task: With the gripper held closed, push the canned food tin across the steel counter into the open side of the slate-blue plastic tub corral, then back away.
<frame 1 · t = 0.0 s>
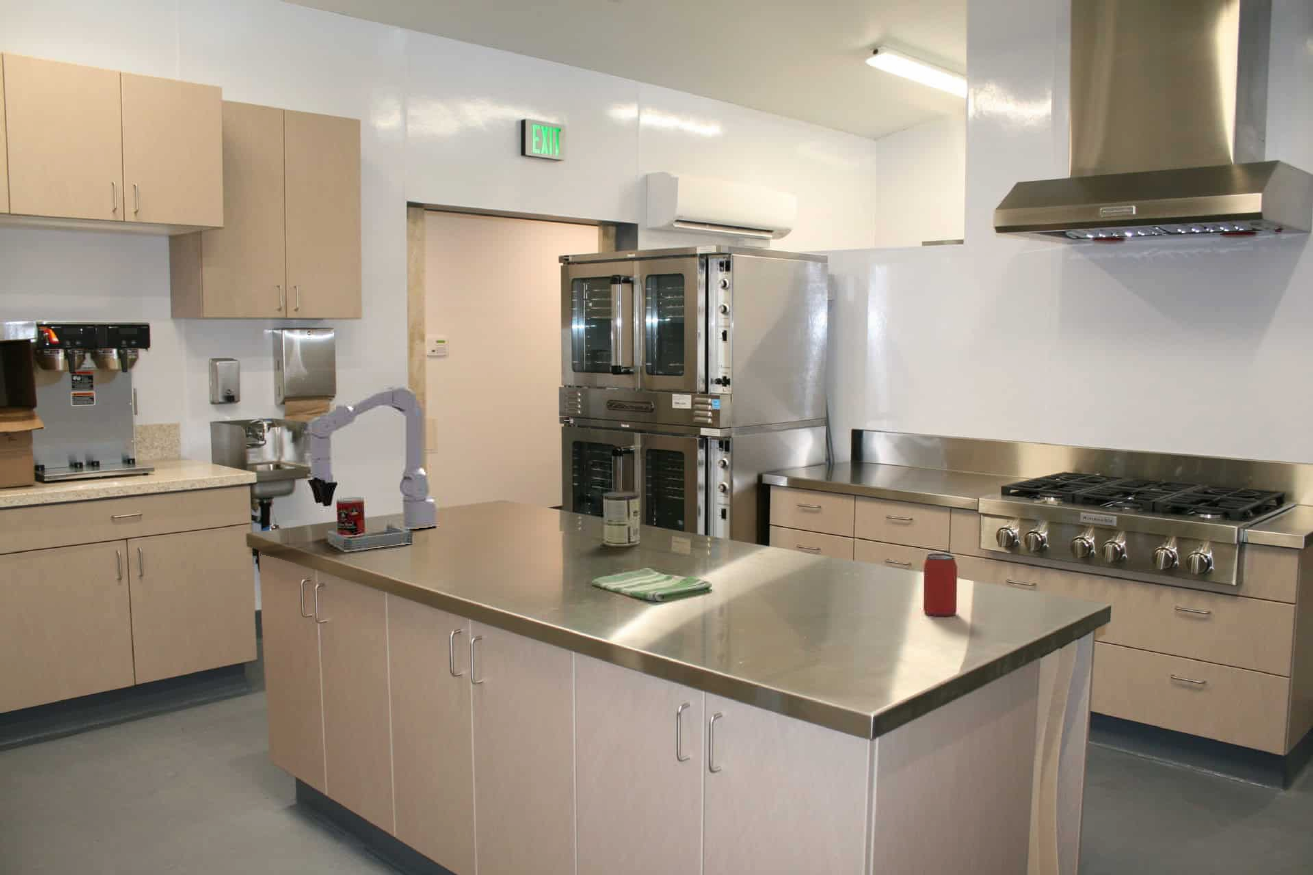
hand: (323, 504, 296), 10 cm above the countertop, tool pointing down, fingers open, 7 cm apart
beer can: (939, 614, 208), on the countertop
coffee can: (621, 543, 286), on the countertop
tub corral: (369, 543, 289), on the countertop
canned food: (351, 536, 302), on the countertop
dish towel: (652, 590, 233), on the countertop
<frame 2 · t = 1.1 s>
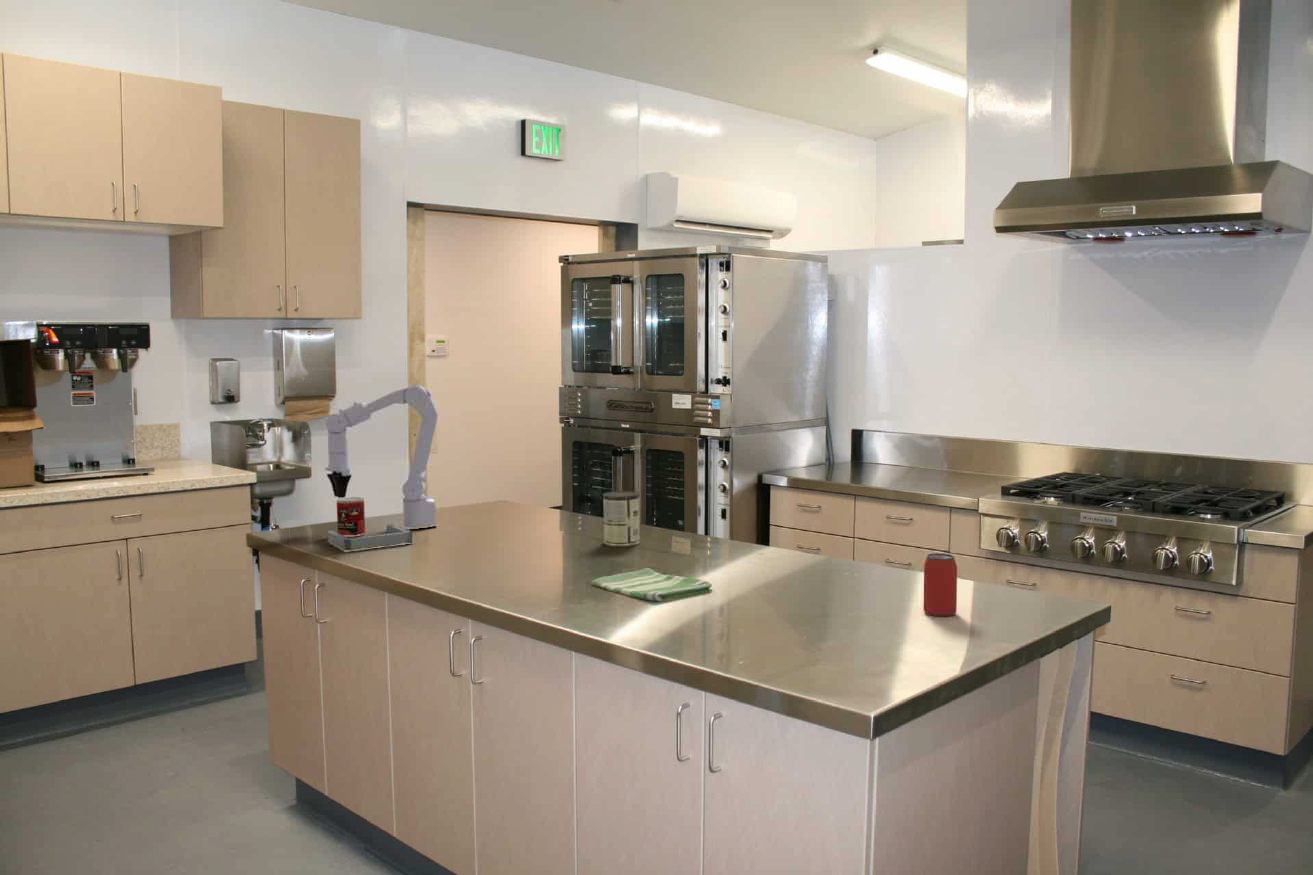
hand: (340, 496, 309), 10 cm above the countertop, tool pointing down, fingers closed
nothing on the countertop moved.
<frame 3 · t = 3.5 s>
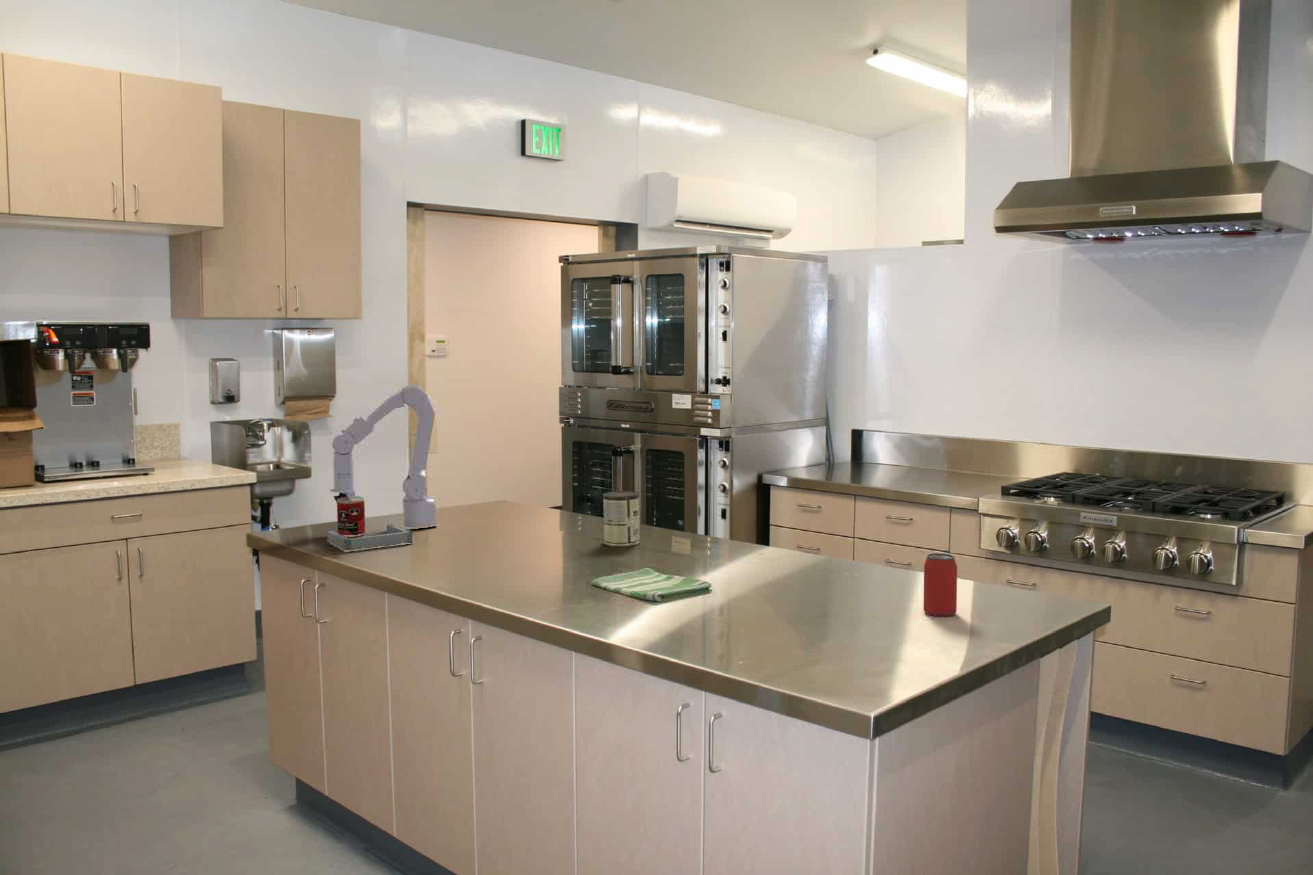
hand: (345, 518, 306), 4 cm above the countertop, tool pointing down, fingers closed
canned food: (351, 535, 302), on the countertop, touching gripper
everything else where it was.
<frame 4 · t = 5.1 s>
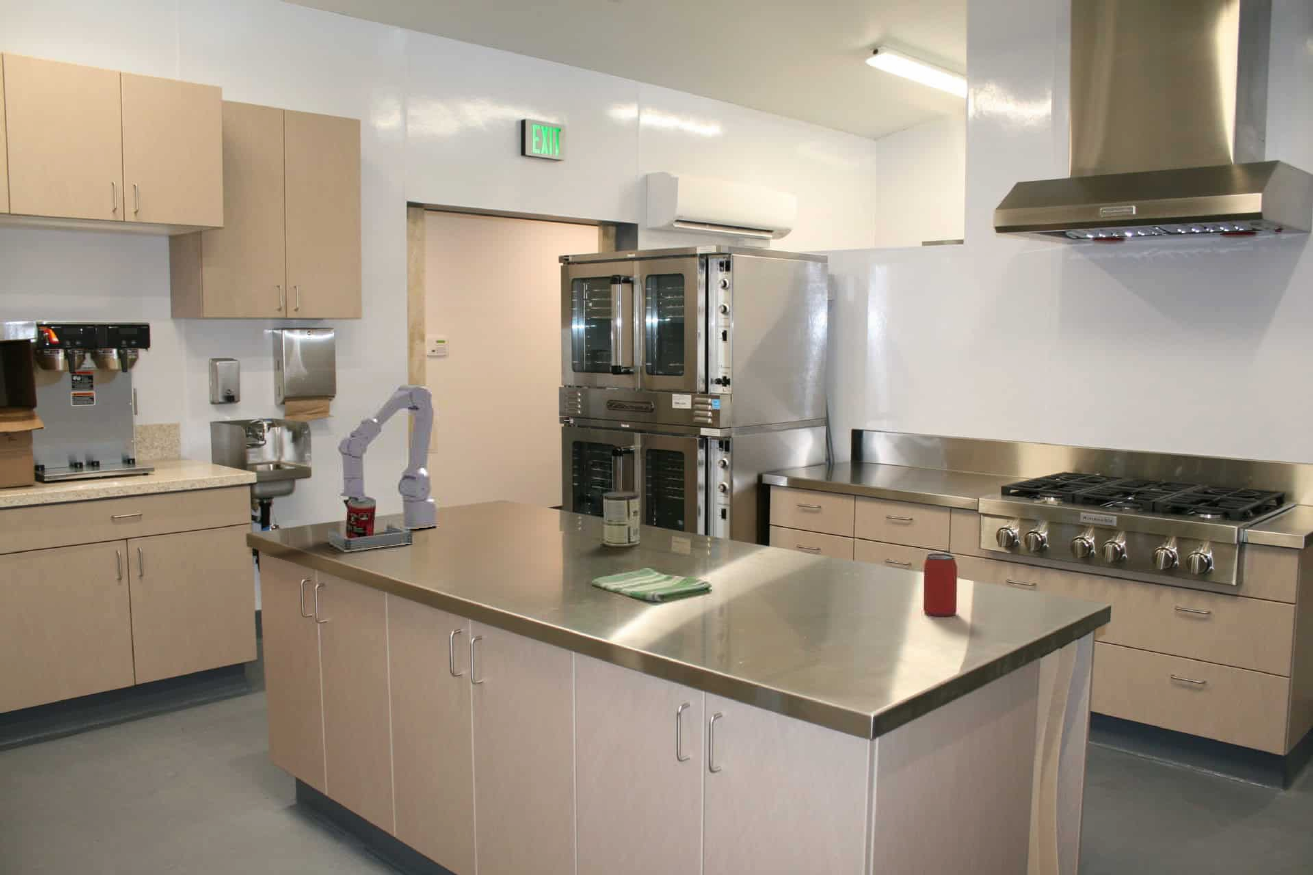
hand: (355, 523, 298), 4 cm above the countertop, tool pointing down, fingers closed
canned food: (359, 536, 295), point 1 cm above the countertop, touching gripper
everything else where it was.
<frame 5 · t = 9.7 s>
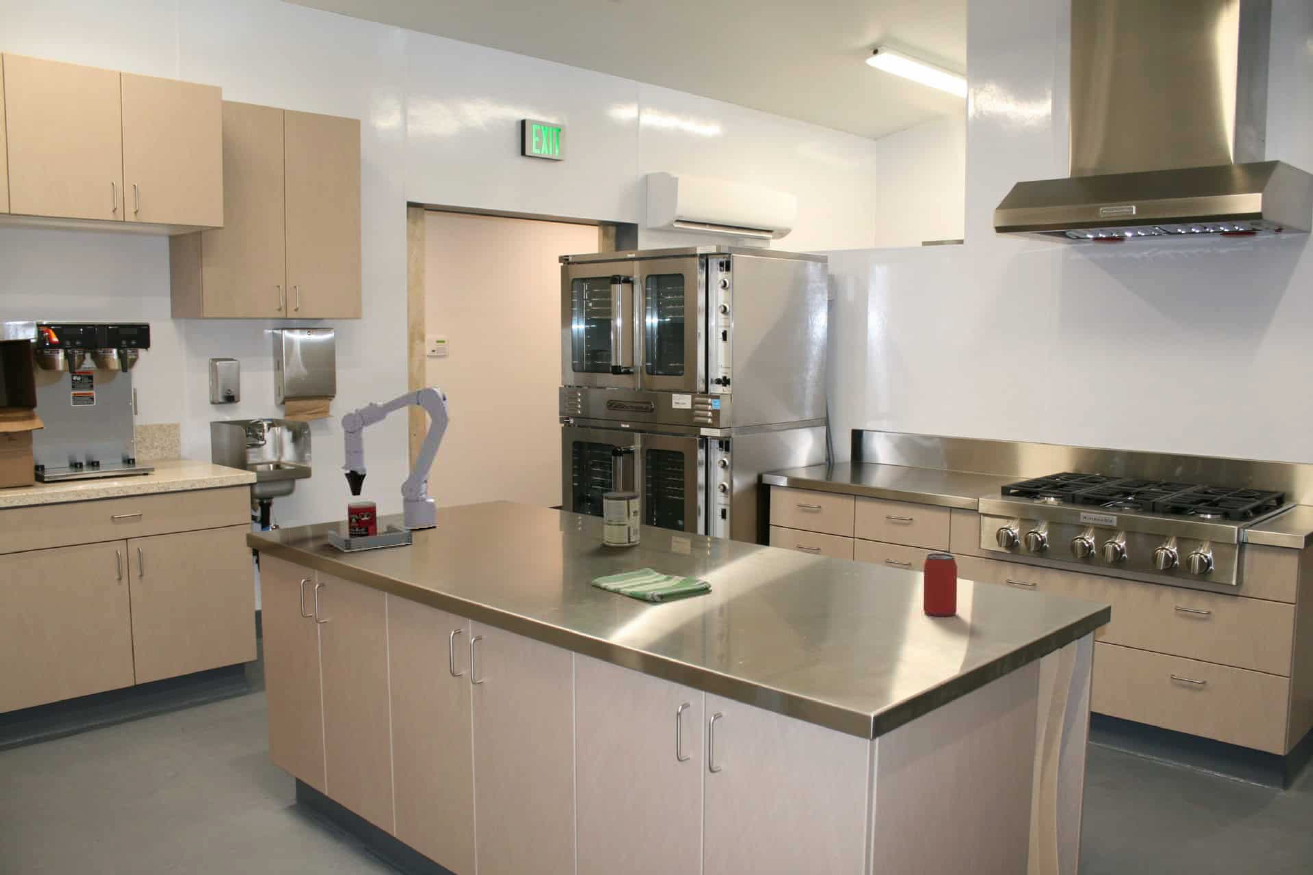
hand: (356, 495, 312), 10 cm above the countertop, tool pointing down, fingers closed
canned food: (363, 541, 293), on the countertop
everything else where it was.
at the end: canned food inside the target area (4.1 cm from its centre), on the countertop; canned food touching countertop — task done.
